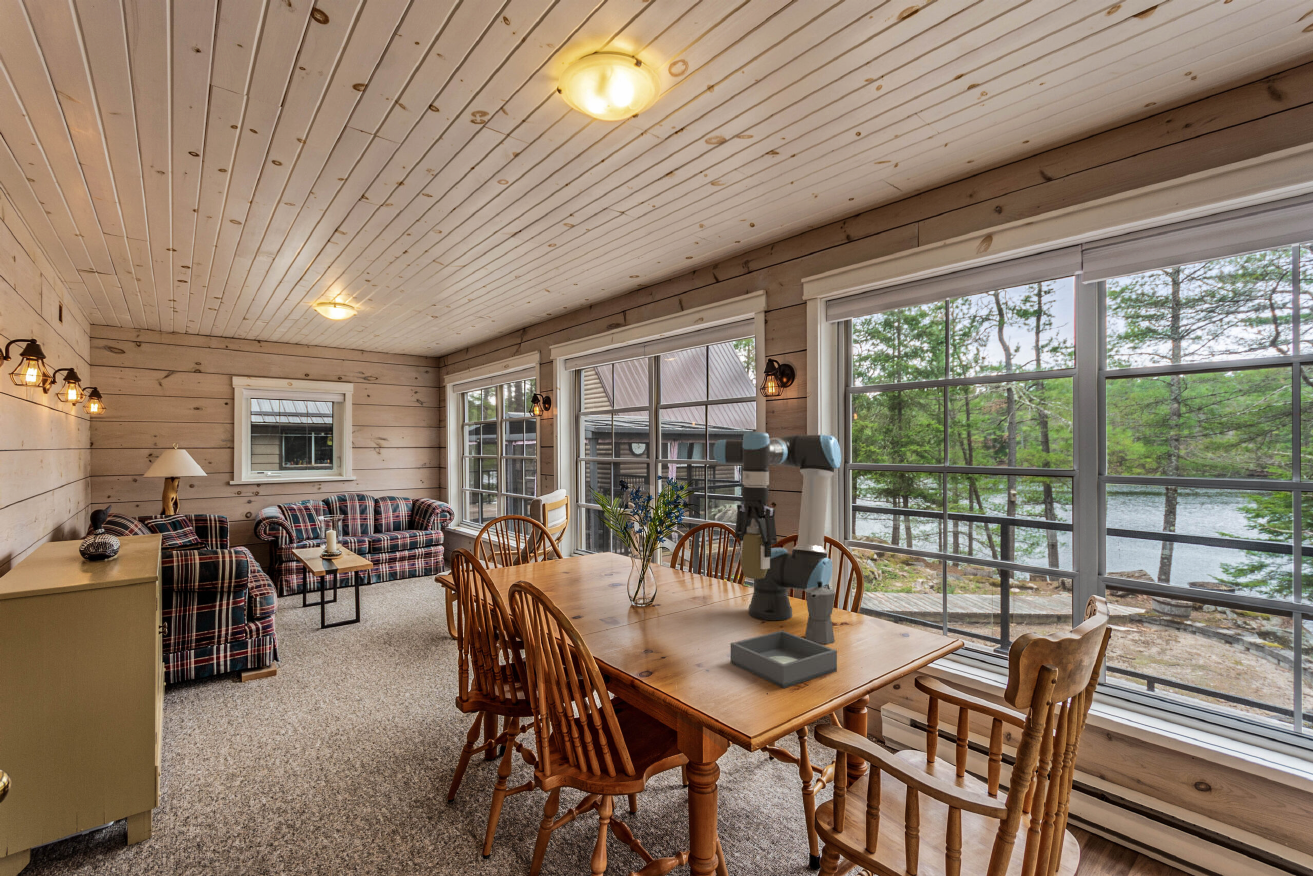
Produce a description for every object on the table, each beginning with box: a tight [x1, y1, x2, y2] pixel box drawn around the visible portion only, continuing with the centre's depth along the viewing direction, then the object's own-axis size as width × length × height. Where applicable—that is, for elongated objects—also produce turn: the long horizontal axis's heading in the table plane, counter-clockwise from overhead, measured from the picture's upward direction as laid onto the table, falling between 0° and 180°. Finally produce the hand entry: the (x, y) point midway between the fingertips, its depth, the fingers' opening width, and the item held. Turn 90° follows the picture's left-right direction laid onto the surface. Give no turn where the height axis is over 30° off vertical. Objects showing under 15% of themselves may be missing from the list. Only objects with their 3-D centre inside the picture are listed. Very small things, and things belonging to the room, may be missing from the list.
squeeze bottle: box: [740, 518, 767, 580], centre depth 169 cm, size 8×8×18 cm
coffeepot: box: [804, 581, 836, 645], centre depth 184 cm, size 15×9×18 cm, turn 147°
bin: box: [730, 630, 838, 689], centre depth 161 cm, size 20×20×6 cm
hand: (754, 565), depth 169 cm, fingers closed on squeeze bottle, 8 cm apart
